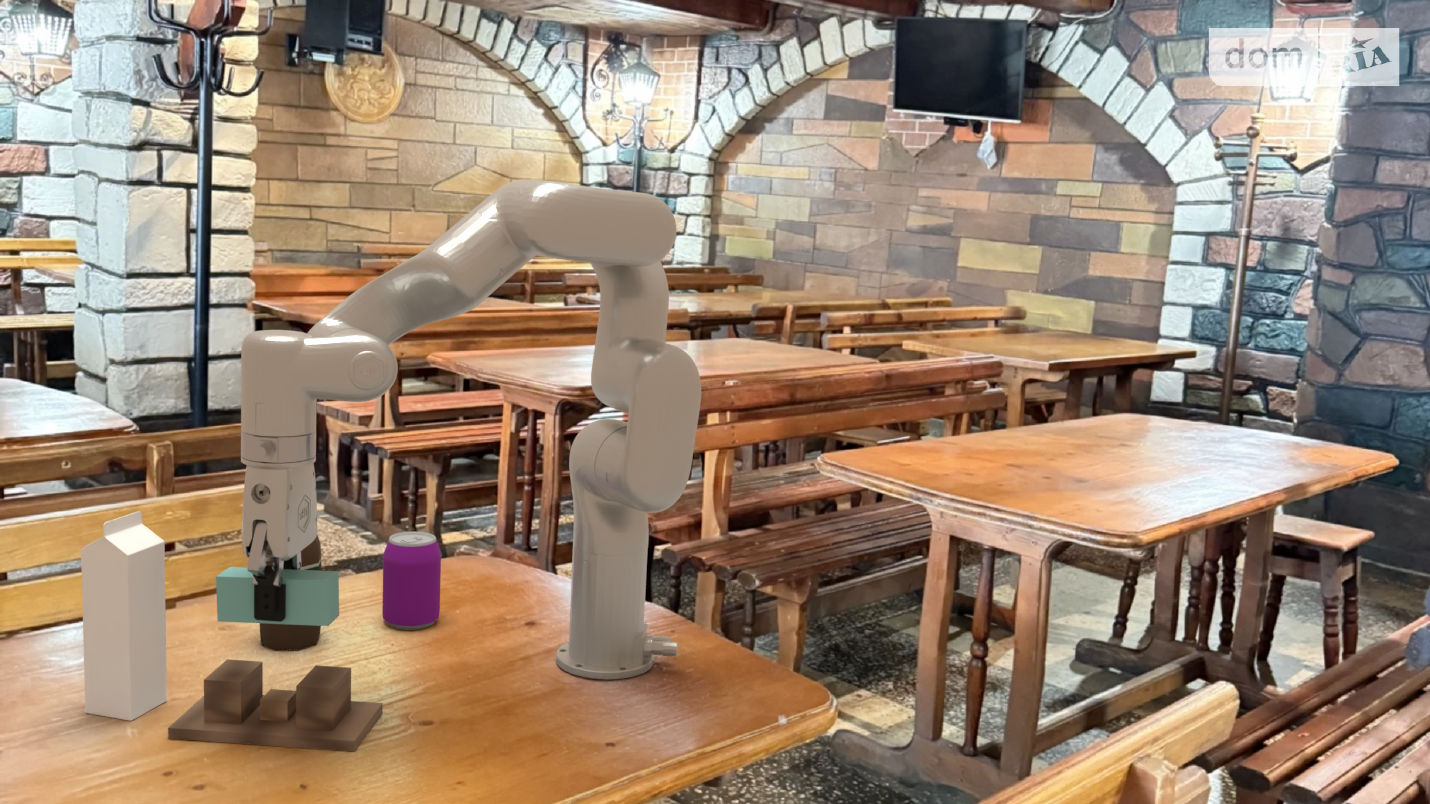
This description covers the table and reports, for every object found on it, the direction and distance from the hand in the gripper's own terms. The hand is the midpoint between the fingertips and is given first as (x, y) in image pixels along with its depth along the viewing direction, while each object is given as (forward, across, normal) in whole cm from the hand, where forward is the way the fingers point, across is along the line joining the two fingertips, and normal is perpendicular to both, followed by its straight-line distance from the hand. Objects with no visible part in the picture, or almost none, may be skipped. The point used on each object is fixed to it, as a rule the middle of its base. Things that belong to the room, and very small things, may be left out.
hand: (277, 611), depth 136 cm
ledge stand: (+13, 0, 0) cm, 13 cm away
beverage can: (+13, +35, -5) cm, 38 cm away
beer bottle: (+13, +25, +8) cm, 30 cm away
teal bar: (+1, 0, 0) cm, 1 cm away
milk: (+13, +2, +18) cm, 22 cm away
